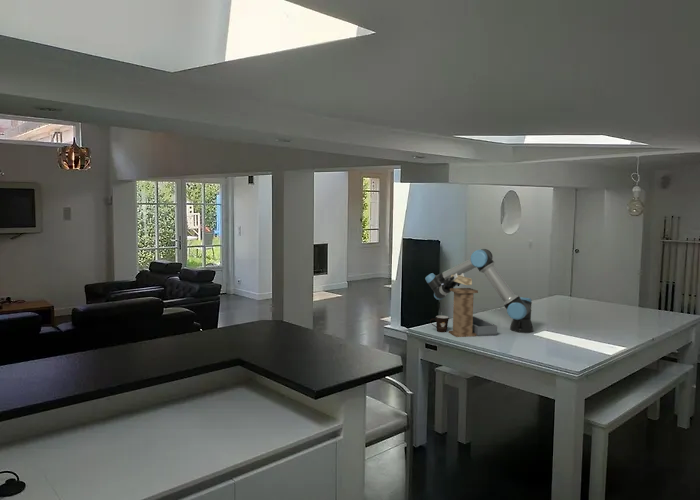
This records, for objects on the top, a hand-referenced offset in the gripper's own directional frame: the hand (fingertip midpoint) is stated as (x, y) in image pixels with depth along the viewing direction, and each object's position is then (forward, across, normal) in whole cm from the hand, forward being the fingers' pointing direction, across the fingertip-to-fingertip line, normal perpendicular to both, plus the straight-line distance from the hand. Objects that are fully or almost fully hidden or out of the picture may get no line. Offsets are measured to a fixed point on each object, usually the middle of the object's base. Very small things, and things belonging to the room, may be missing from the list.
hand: (459, 275), depth 354 cm
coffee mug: (-24, +11, -31) cm, 41 cm away
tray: (-23, -15, -31) cm, 42 cm away
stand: (-14, 0, -36) cm, 39 cm away
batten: (-1, 0, -5) cm, 5 cm away
